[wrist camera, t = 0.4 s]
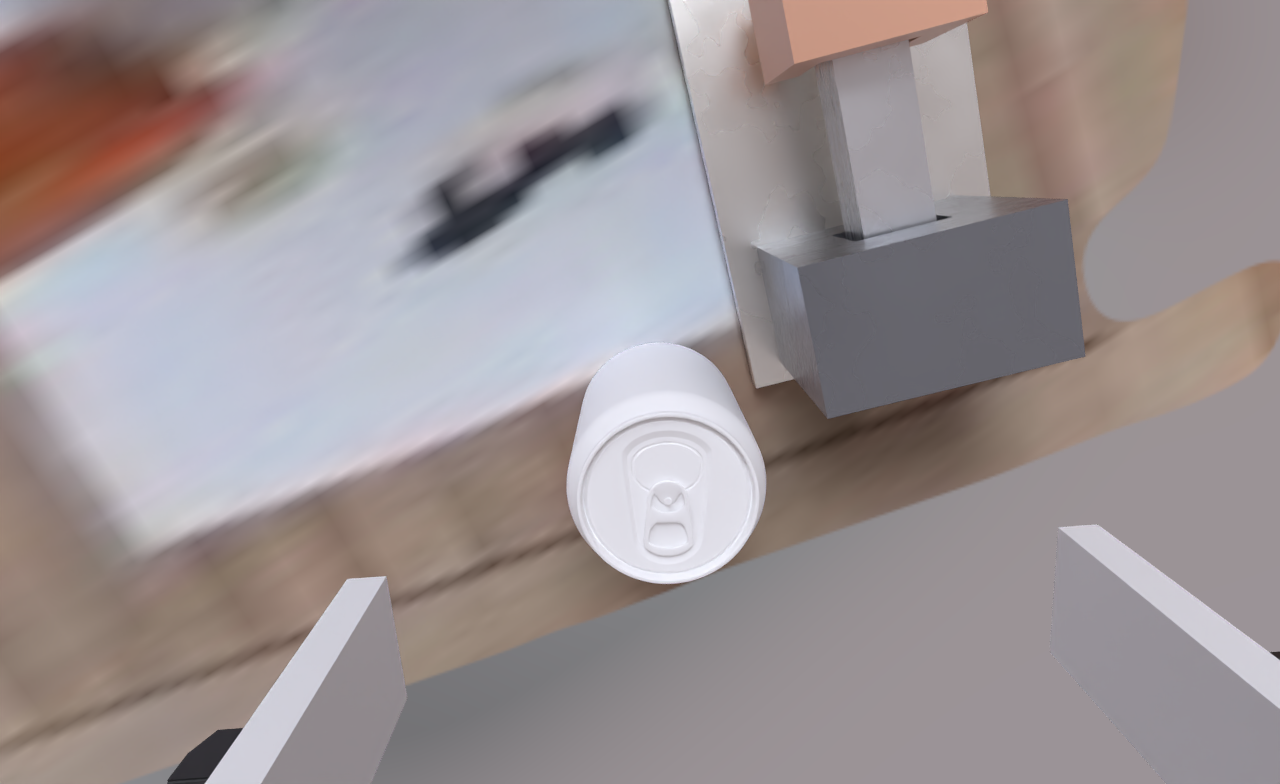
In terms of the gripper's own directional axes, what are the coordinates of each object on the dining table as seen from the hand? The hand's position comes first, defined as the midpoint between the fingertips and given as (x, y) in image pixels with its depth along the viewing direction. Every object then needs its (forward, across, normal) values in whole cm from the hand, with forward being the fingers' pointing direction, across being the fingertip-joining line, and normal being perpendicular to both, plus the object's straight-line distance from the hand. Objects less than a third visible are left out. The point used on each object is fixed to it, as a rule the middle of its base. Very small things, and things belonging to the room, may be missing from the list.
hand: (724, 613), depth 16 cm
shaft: (+22, +8, +13) cm, 27 cm away
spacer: (+23, +8, +14) cm, 29 cm away
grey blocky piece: (+27, +9, +9) cm, 30 cm away
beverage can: (+27, -1, -4) cm, 27 cm away
